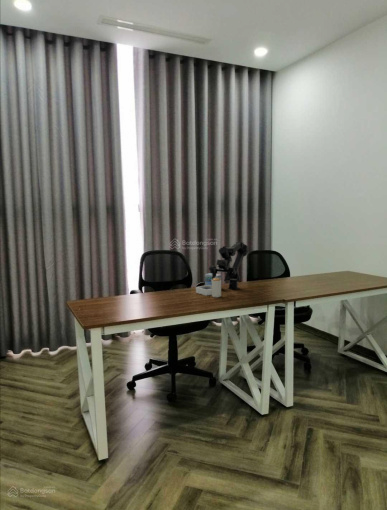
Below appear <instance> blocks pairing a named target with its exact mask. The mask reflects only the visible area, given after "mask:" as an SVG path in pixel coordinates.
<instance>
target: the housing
mask: <svg viewBox="0 0 387 510" xmlns="http://www.w3.org/2000/svg"><path fill="white" fill-rule="evenodd" d="M195 293H196V294H199V295H203V296H205V297H206V296H212V286H211V285H206V286H205V285H201V286H195Z"/></svg>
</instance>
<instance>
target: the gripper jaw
mask: <svg viewBox="0 0 387 510" xmlns="http://www.w3.org/2000/svg"><path fill="white" fill-rule="evenodd" d="M221 296H222V279H221V280H220V279H219V278H213V280H212V295H211V297H213V298H219V297H221Z"/></svg>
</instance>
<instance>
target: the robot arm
mask: <svg viewBox="0 0 387 510" xmlns="http://www.w3.org/2000/svg"><path fill="white" fill-rule="evenodd" d="M249 252H250V248H249V246H248V245H247V244H245V243H244V242H242V241H237V242H235V243H234V244H232V246H230V247H229V246H225V245H224V246H222V247H220V248H219V249H218V254H219V256H220V257H221V259H217V260H216V266H217V267H216V266H215V265H210V266H209V268H208V270H209V272H210V273H211V274H212V280H213V278H215V276H216V275H217V274H218V272H221V273H226V274H225V278H224V279H223V280H224V282H226V281H228V287H227V289H229V290H234V291H235V290H237V289H240V287H238V285H239V284H238V282H240V280H241V276H240V273H239V268H240V266H241V264H242V262H243V260H244V257H246V256H247V255H248V254H249ZM236 253H237V255H236ZM235 255H236V257H235V260H234V262H233V259H232V257H234V256H235ZM231 262H233V264H232V266H231V267H230V263H231Z"/></svg>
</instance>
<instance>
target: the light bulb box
mask: <svg viewBox="0 0 387 510" xmlns="http://www.w3.org/2000/svg"><path fill="white" fill-rule="evenodd" d="M216 274H217V275H216V276H215V278H219V279H220V280H221V281H222V273H221V274H220V273H216ZM204 276H205V277H204V282H205V283H204V286H206V285H211V286H212V273H211V272H210V273H209V272H208V273H205V275H204Z"/></svg>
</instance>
